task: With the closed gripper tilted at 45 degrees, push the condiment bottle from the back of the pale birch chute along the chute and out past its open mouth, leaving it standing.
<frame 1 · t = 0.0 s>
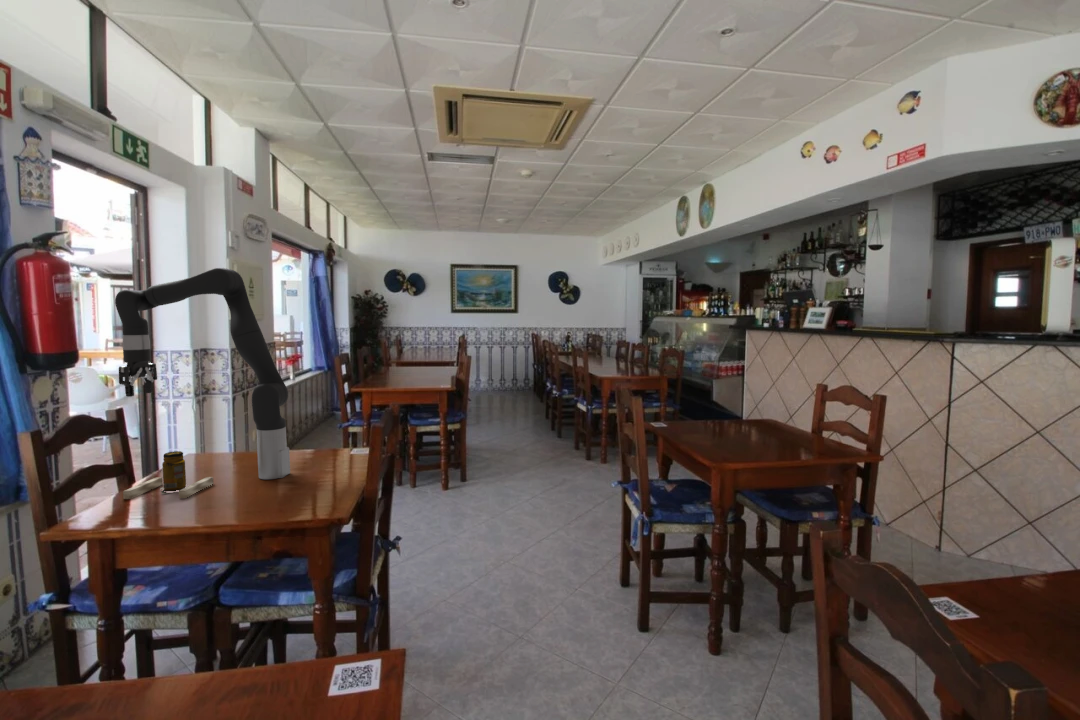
hand: (139, 394, 179), 29 cm above the table, tool pointing down, fingers open, 8 cm apart
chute: (170, 491, 166), on the table
condiment: (174, 490, 168), on the table
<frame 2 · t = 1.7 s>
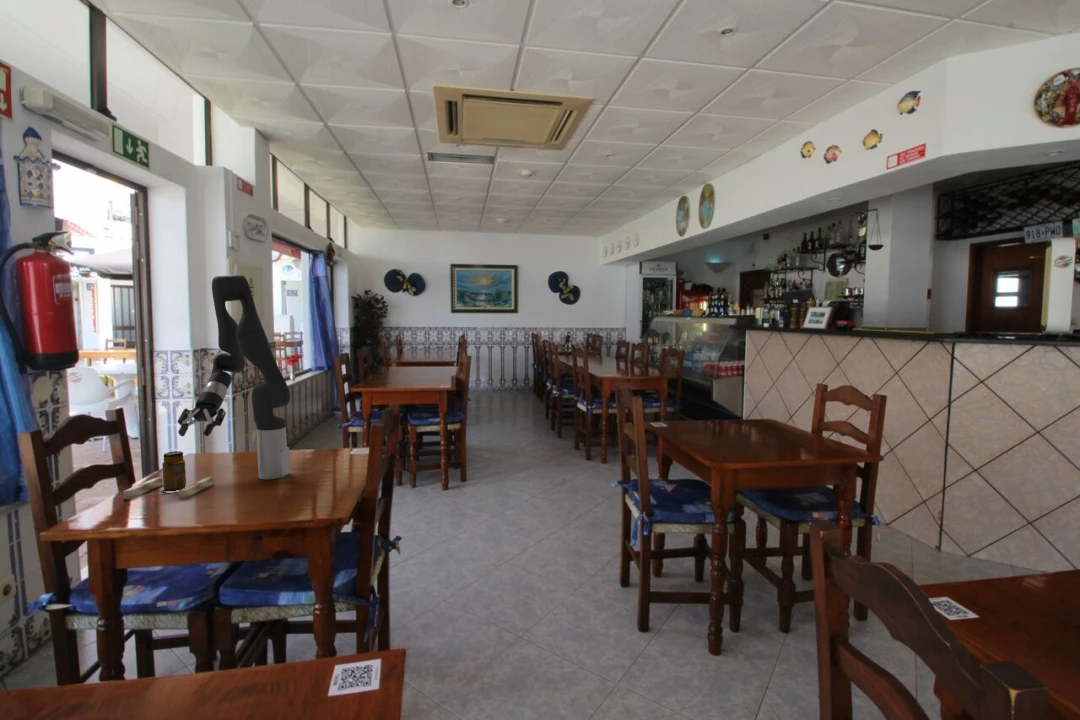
hand: (193, 435, 177), 16 cm above the table, tool tilted 45°, fingers open, 8 cm apart
nothing on the table moved.
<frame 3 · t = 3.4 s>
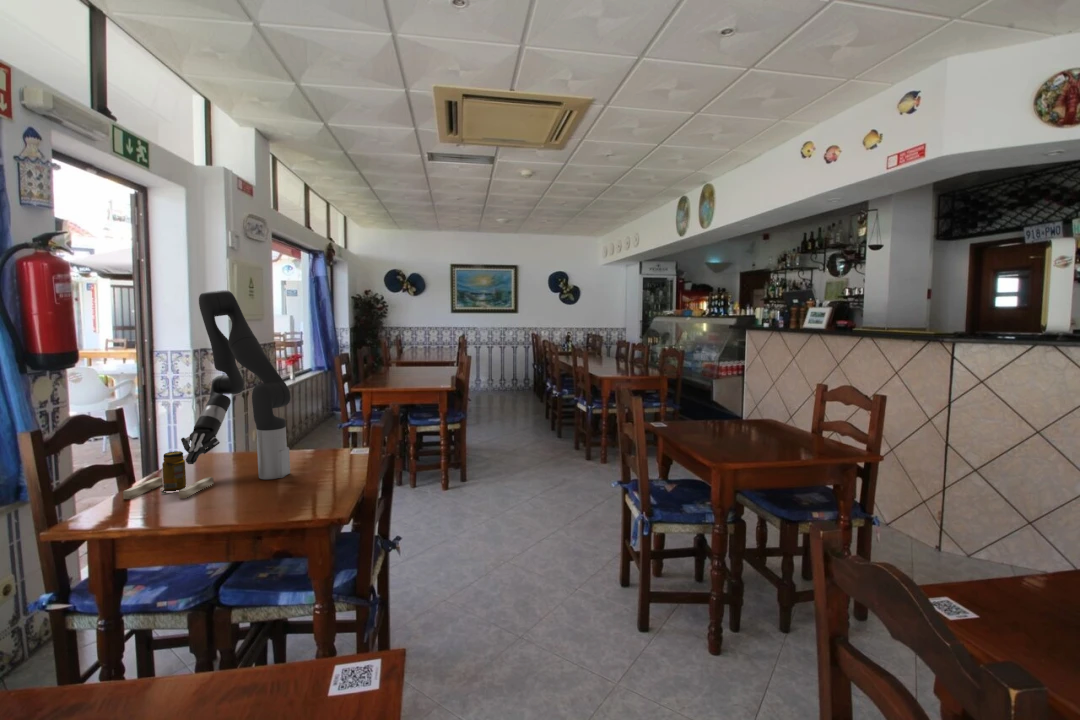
hand: (189, 463, 175), 6 cm above the table, tool tilted 45°, fingers closed
nothing on the table moved.
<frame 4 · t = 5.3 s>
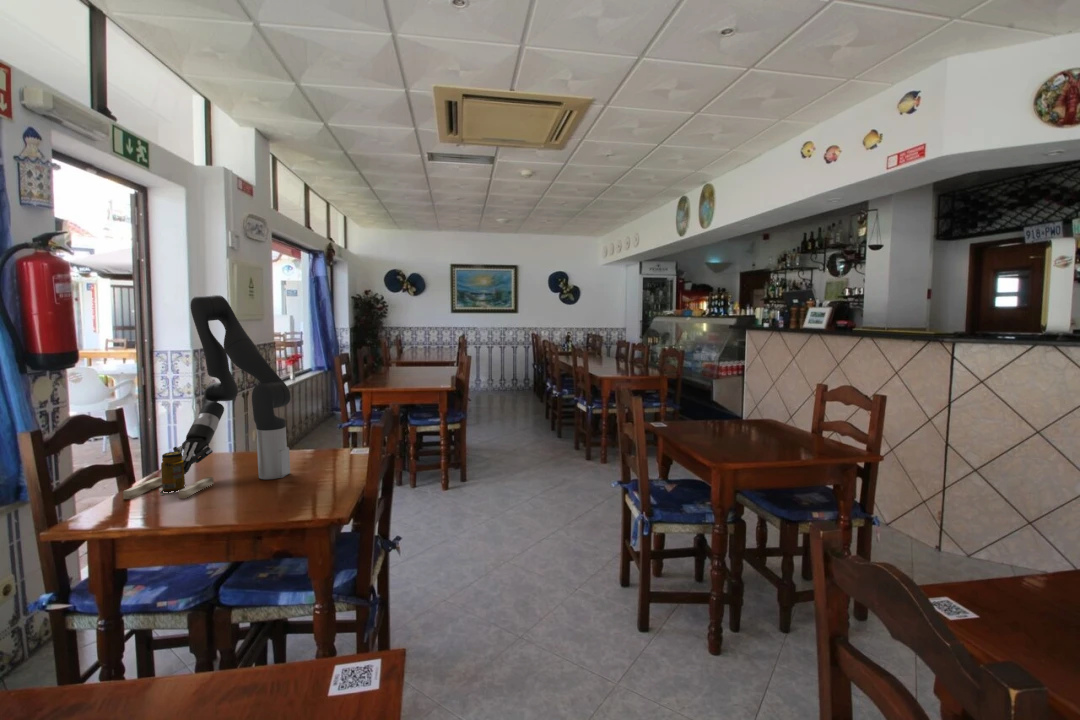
hand: (181, 472, 171), 4 cm above the table, tool tilted 45°, fingers closed
nothing on the table moved.
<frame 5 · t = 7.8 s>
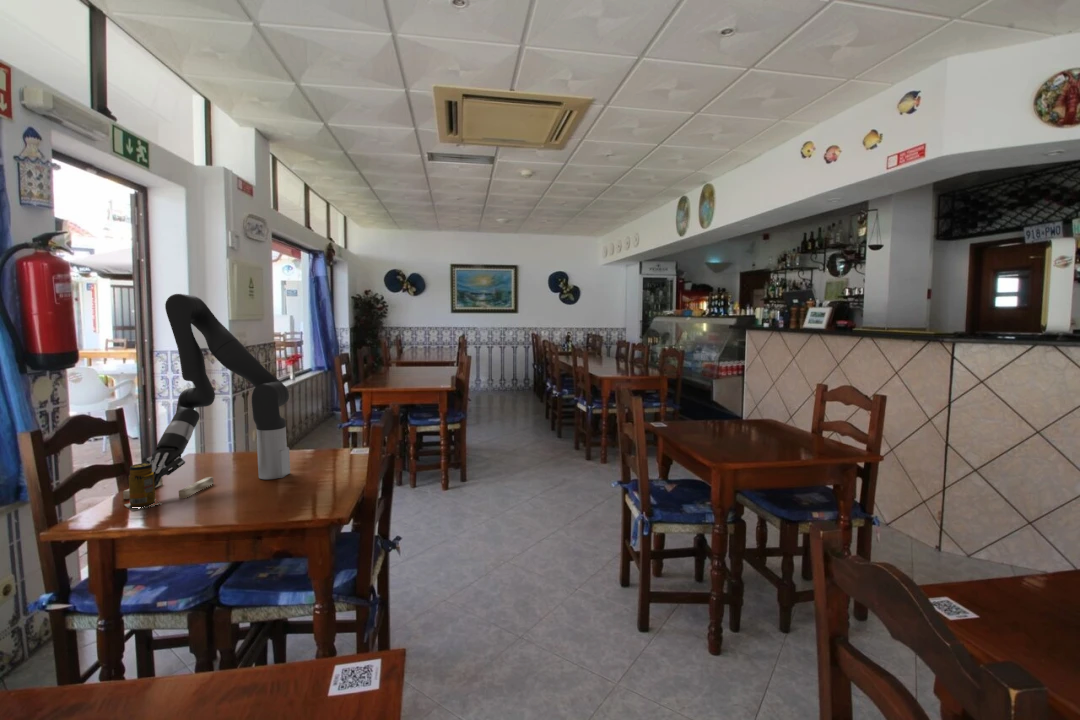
hand: (150, 486, 157), 4 cm above the table, tool tilted 45°, fingers closed
condiment: (143, 505, 154), on the table, touching gripper
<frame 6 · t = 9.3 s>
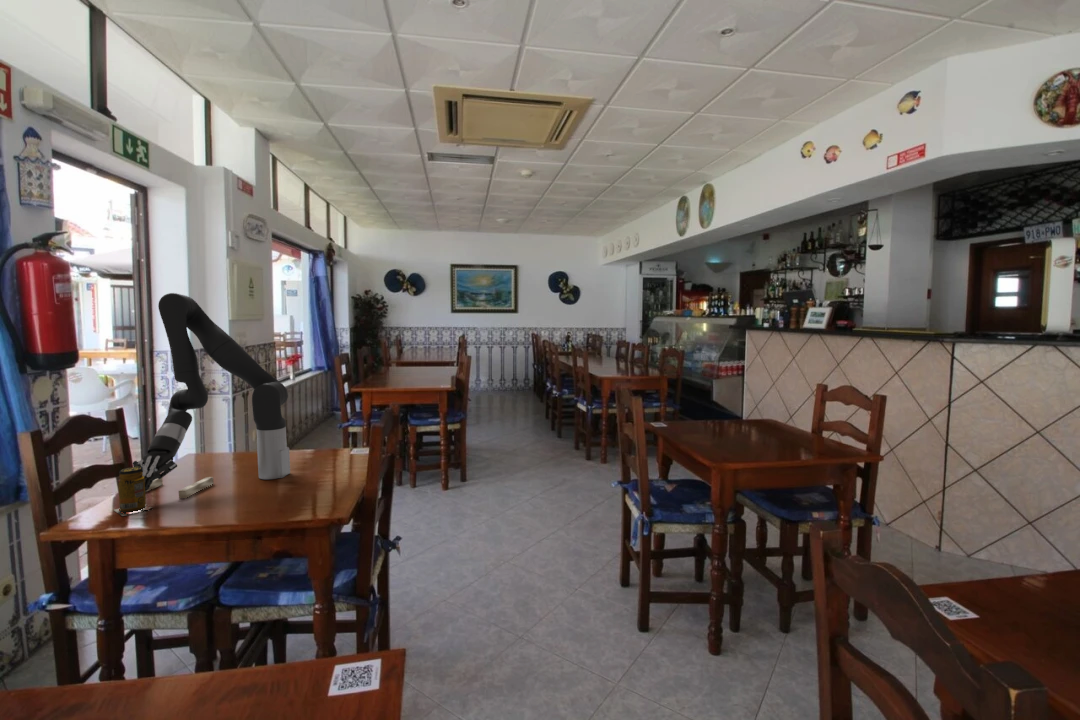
hand: (141, 490, 153), 4 cm above the table, tool tilted 45°, fingers closed
condiment: (133, 510, 150), on the table, touching gripper
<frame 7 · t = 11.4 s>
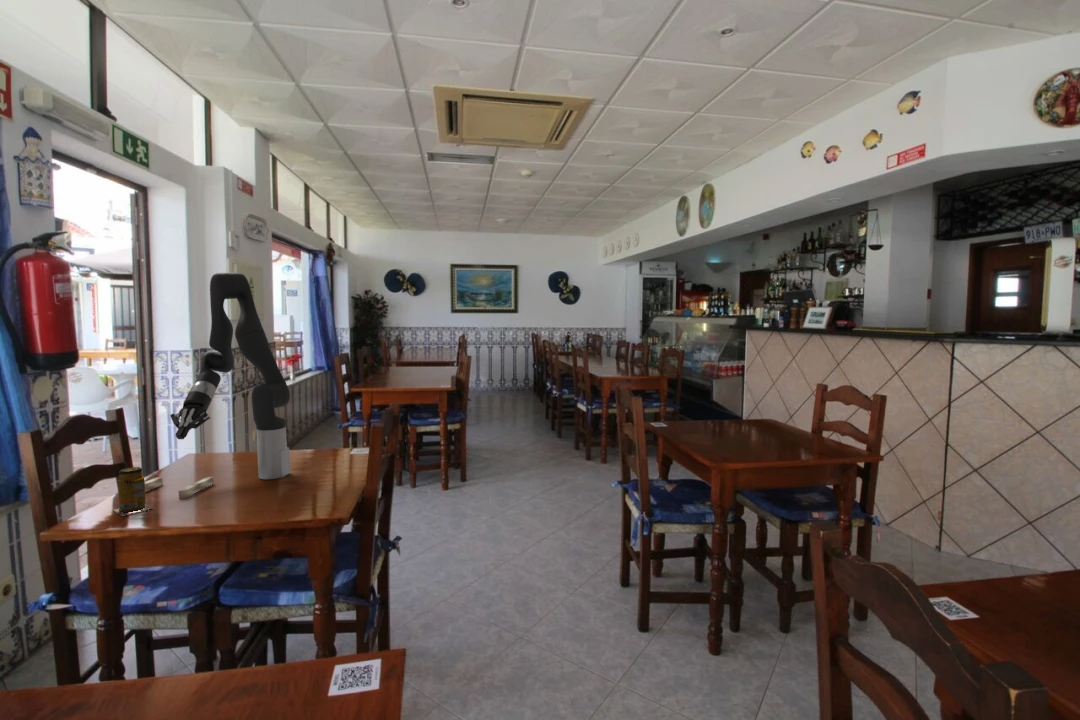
hand: (179, 438, 172), 16 cm above the table, tool tilted 45°, fingers closed
condiment: (133, 510, 149), on the table
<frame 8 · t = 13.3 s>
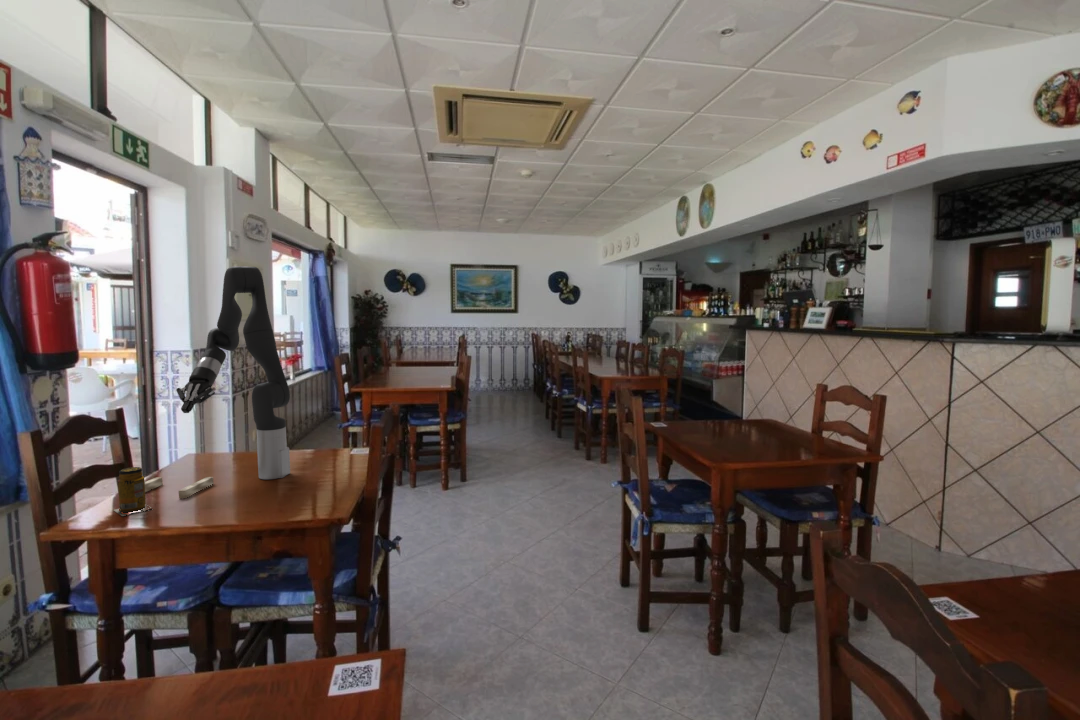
hand: (185, 411, 176), 24 cm above the table, tool tilted 45°, fingers closed
nothing on the table moved.
at the end: condiment inside the target area (1.0 cm from its centre), on the table; condiment tilted 0° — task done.
